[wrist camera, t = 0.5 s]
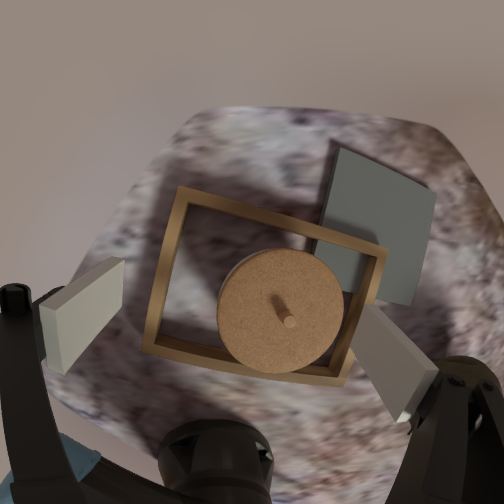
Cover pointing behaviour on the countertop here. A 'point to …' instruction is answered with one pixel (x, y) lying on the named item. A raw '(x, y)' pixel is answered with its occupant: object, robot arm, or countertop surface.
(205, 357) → the pocket frame
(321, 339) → the lidded jar
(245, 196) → the countertop surface
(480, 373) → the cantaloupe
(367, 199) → the trivet
